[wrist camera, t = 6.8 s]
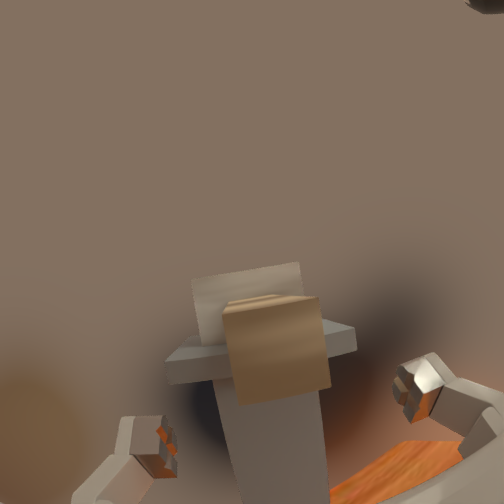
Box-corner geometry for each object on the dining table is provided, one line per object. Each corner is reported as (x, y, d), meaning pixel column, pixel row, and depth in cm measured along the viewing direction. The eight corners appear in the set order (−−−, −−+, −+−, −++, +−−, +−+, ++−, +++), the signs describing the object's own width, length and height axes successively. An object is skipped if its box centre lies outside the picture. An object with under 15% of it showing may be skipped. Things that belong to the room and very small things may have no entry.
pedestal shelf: (335, 534, 25) (311, 315, 29) (360, 584, 14) (354, 327, 18) (247, 551, 24) (189, 336, 28) (251, 607, 13) (164, 361, 17)
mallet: (208, 336, 26) (198, 281, 27) (296, 321, 27) (287, 267, 27) (162, 414, 8) (133, 261, 9) (397, 366, 9) (376, 223, 10)
